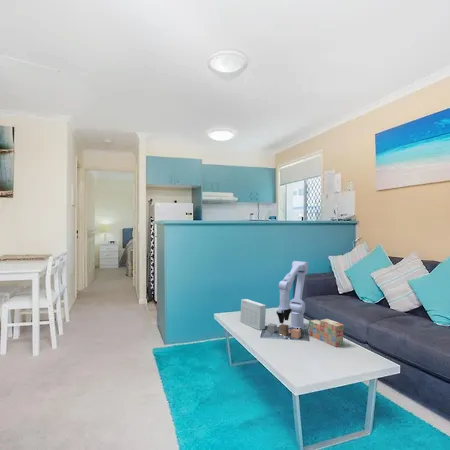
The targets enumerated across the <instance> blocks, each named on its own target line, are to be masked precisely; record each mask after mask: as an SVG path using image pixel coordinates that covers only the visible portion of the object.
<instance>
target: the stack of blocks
mask: <svg viewBox="0 0 450 450" xmlns="http://www.w3.org/2000/svg"><path fill="white" fill-rule="evenodd" d="M308 335H309V336H310V337H312V338H314V339H317V340H319V341H321V342H323V343H325V344H328V345H330V346H332V347H334V348H338V347H341V346H342V347H343V346H344V324H343V323H340V322H338V321H335V320H332V319H329V318H325V319H320V320H319V319H312V320H308Z"/></svg>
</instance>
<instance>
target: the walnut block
mask: <svg viewBox="0 0 450 450" xmlns="http://www.w3.org/2000/svg"><path fill="white" fill-rule="evenodd" d="M289 326H290V325H288V324H284V323H283V324H282V323H280V324H279V327H278V335H279V334H282V335H281V336H283V335H287V334H288V333H290V332H289V329H290V327H289ZM288 335H289V334H288ZM288 335H287V336H288Z"/></svg>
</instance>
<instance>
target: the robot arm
mask: <svg viewBox="0 0 450 450" xmlns="http://www.w3.org/2000/svg"><path fill="white" fill-rule="evenodd" d="M308 271H309V262H307V261H299V260H293V261H292V263H291V269H290V271H289V273H286V275H285V276H284V277H283V279H282V280H279V282H278V286H277V287H278V292H279V305H278V306H277V308H278V309H277V310H276V315H277V317H278V322H279V324H284V322H285V321H287V322H288V321H289V319H290V322H291V323H290V325H289V328H292V329H293V328H296V329H297V328H298V329H300V328H301V329H302V328H303V327H305V326H306V325H305V324H304V321H305V319H304V317H305V315H304V313H305V311H306V302H305V301H304V300H303V299H302V298H303V293H304V287H305V286H304V285H305V277H306V275H308ZM296 275H297V276H296ZM295 277H297V278H296V285H295V291H294V297H293V298H292V299H290V291H291V289H292V285H293V282H294V280H295ZM290 317H291V318H290ZM301 329H300V330H301Z"/></svg>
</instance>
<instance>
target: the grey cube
mask: <svg viewBox="0 0 450 450" xmlns="http://www.w3.org/2000/svg"><path fill="white" fill-rule="evenodd" d="M266 330H267V331H268V332H267V333H270V332H273V333H272V334H275V333H277V332H276V331H278V324H276V323H268V324H267V329H266ZM274 332H275V333H274Z"/></svg>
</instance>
